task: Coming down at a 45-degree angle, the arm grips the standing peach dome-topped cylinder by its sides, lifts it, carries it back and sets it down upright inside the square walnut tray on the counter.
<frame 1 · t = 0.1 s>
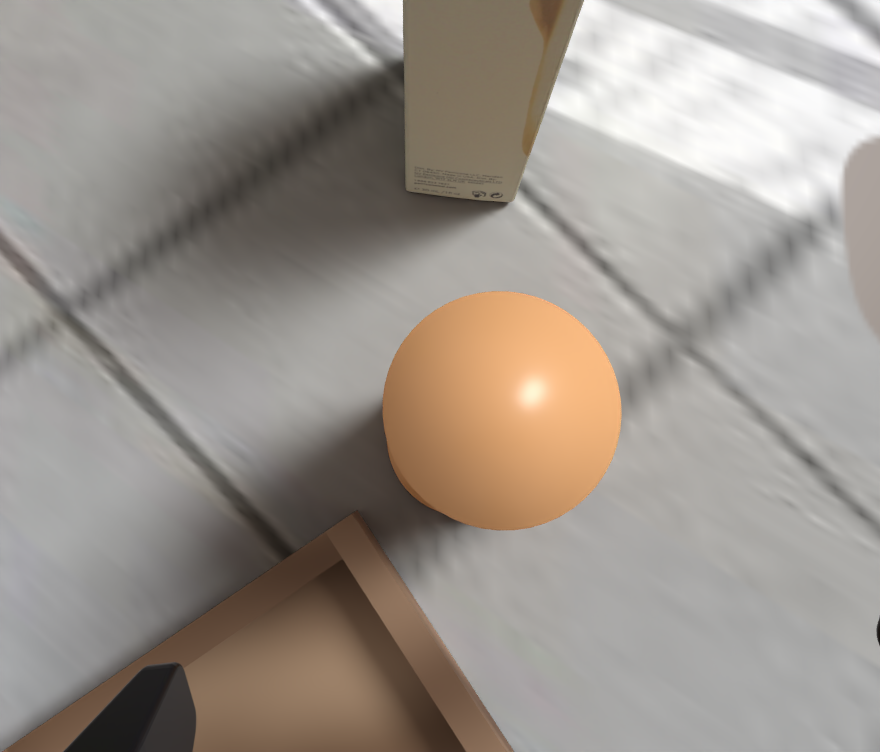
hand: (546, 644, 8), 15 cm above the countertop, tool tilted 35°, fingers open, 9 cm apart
skincare box: (465, 125, 26), on the countertop
peach dome-topped cylinder: (463, 438, 23), on the countertop
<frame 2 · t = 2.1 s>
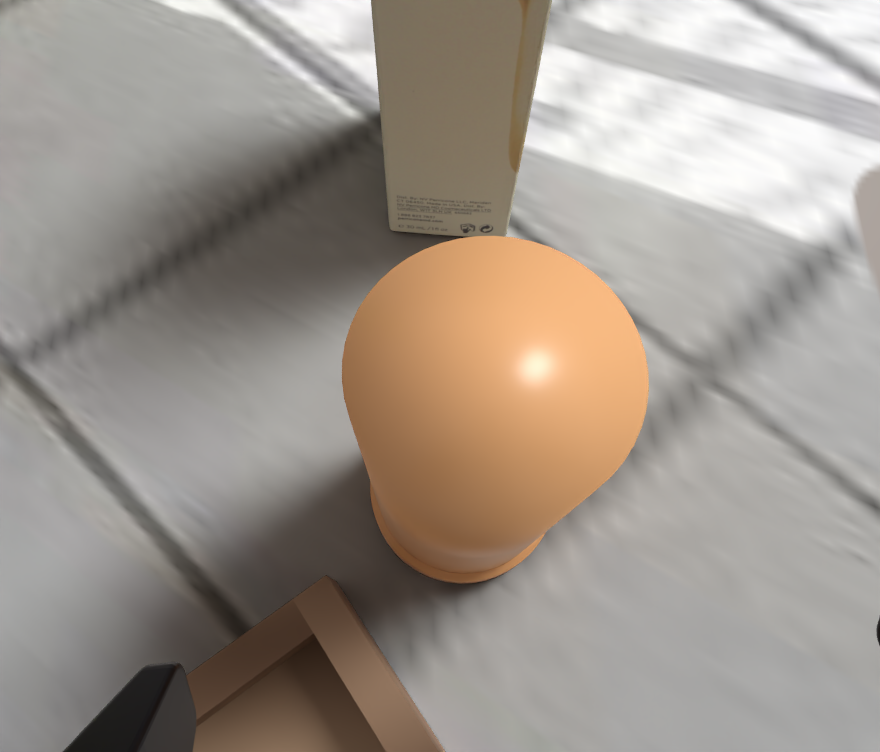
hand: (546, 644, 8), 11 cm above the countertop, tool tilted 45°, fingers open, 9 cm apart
skincare box: (451, 169, 25), on the countertop
peach dome-topped cylinder: (461, 491, 20), on the countertop
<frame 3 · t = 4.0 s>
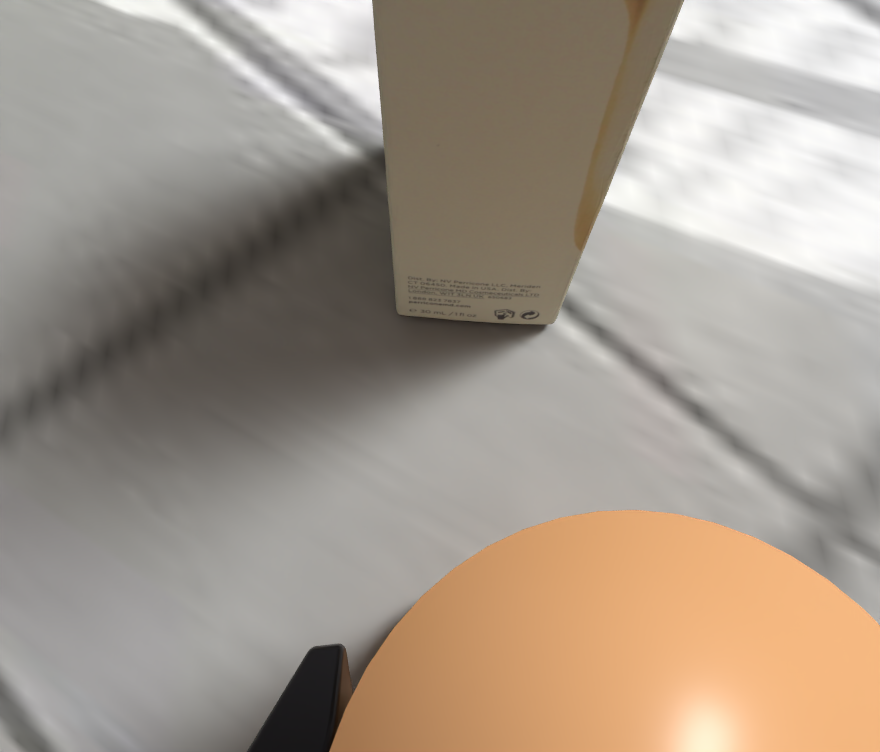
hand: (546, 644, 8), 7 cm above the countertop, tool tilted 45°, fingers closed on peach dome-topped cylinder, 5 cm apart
skincare box: (478, 226, 19), on the countertop
peach dome-topped cylinder: (501, 708, 14), on the countertop, touching gripper
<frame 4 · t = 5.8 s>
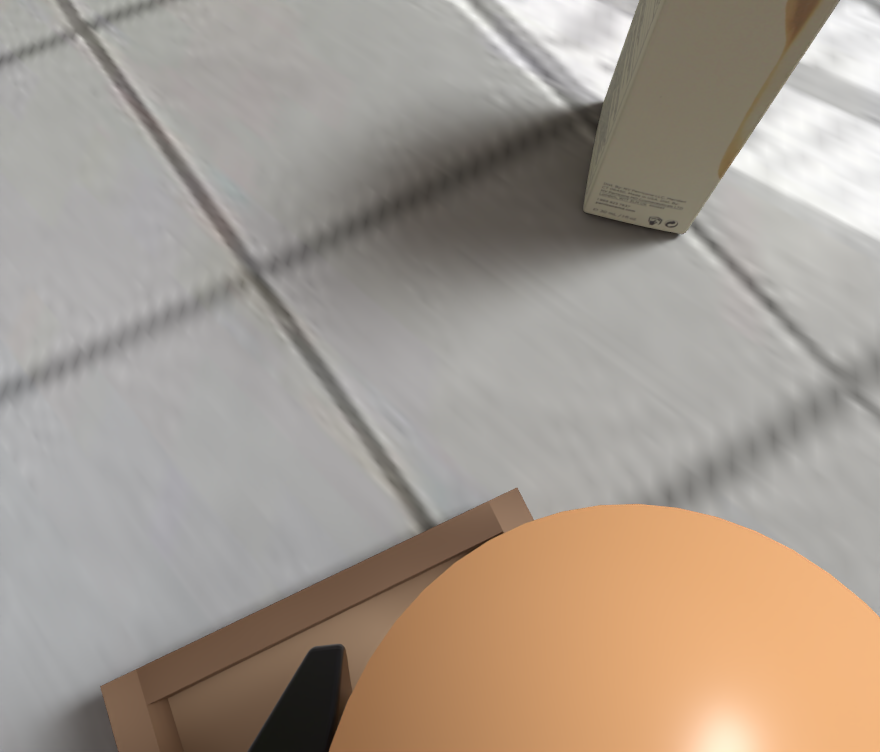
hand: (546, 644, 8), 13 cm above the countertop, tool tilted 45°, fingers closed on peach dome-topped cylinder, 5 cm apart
skincare box: (641, 166, 27), on the countertop
peach dome-topped cylinder: (502, 705, 14), point 7 cm above the countertop, touching gripper
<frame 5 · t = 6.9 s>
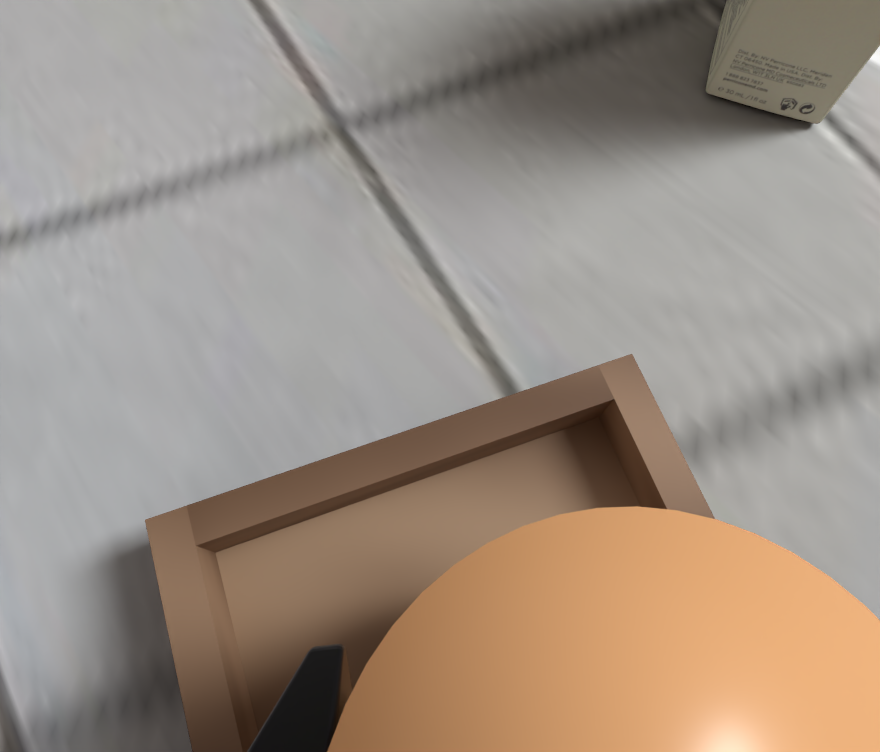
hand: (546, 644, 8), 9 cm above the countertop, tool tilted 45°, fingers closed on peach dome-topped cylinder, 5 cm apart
walnut tray: (487, 689, 17), on the countertop
skincare box: (769, 55, 25), on the countertop
peach dome-topped cylinder: (501, 707, 14), point 3 cm above the countertop, touching gripper
when the fingers open (9 cm above the countertop, at t = 7.5 s): peach dome-topped cylinder drops 1 cm, resting on walnut tray.
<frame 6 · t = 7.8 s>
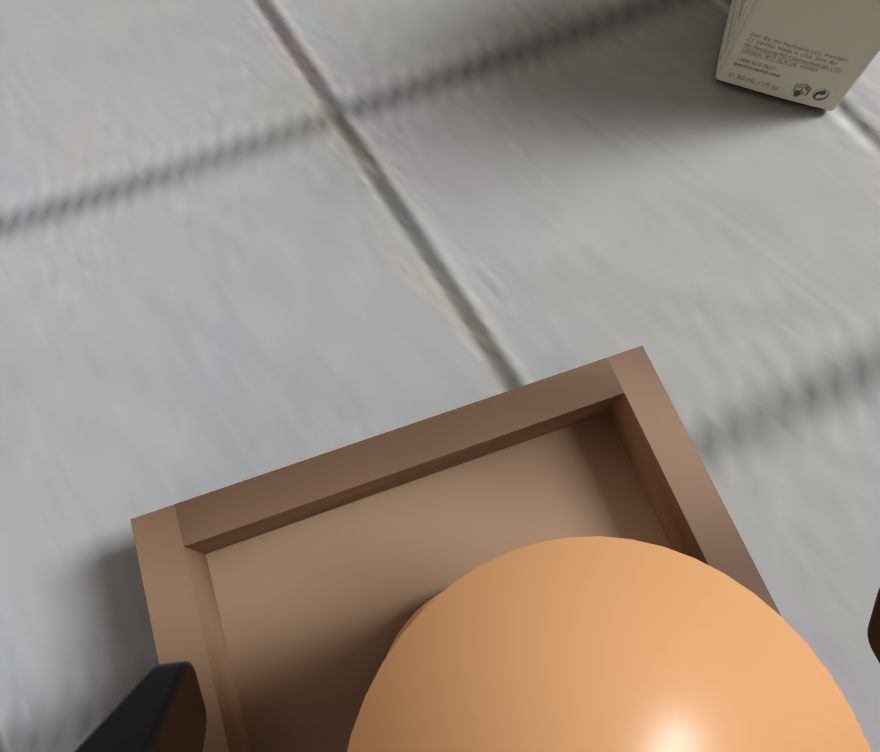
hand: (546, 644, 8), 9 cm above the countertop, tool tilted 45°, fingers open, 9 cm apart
walnut tray: (491, 698, 16), on the countertop
skincare box: (780, 41, 24), on the countertop
peach dome-topped cylinder: (494, 702, 15), point 1 cm above the countertop, touching walnut tray
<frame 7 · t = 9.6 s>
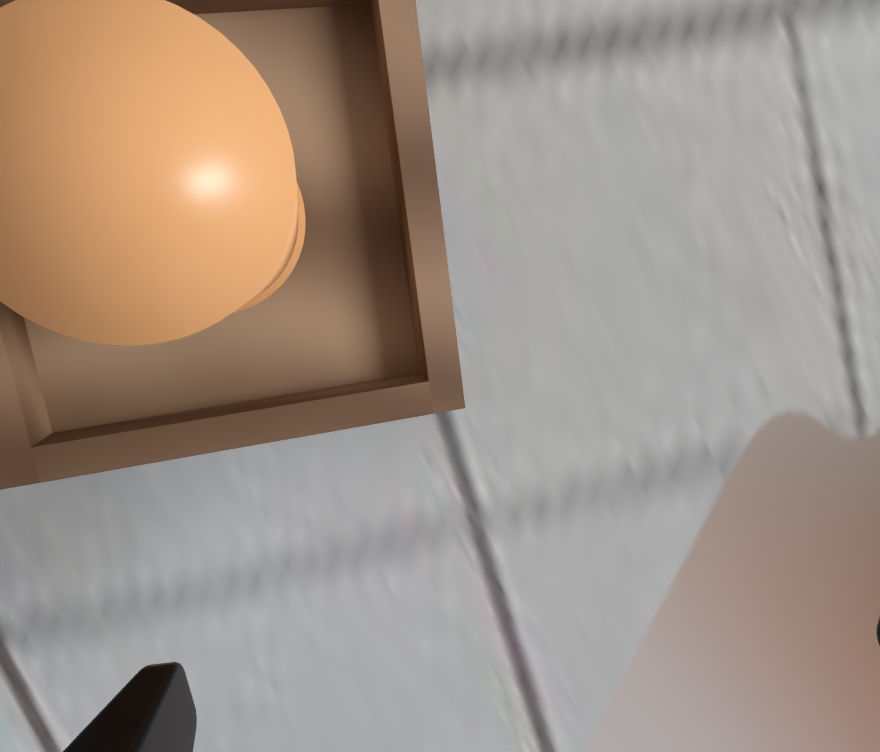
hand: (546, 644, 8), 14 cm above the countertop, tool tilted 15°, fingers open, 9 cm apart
walnut tray: (213, 220, 20), on the countertop
peach dome-topped cylinder: (210, 220, 19), point 1 cm above the countertop, touching walnut tray
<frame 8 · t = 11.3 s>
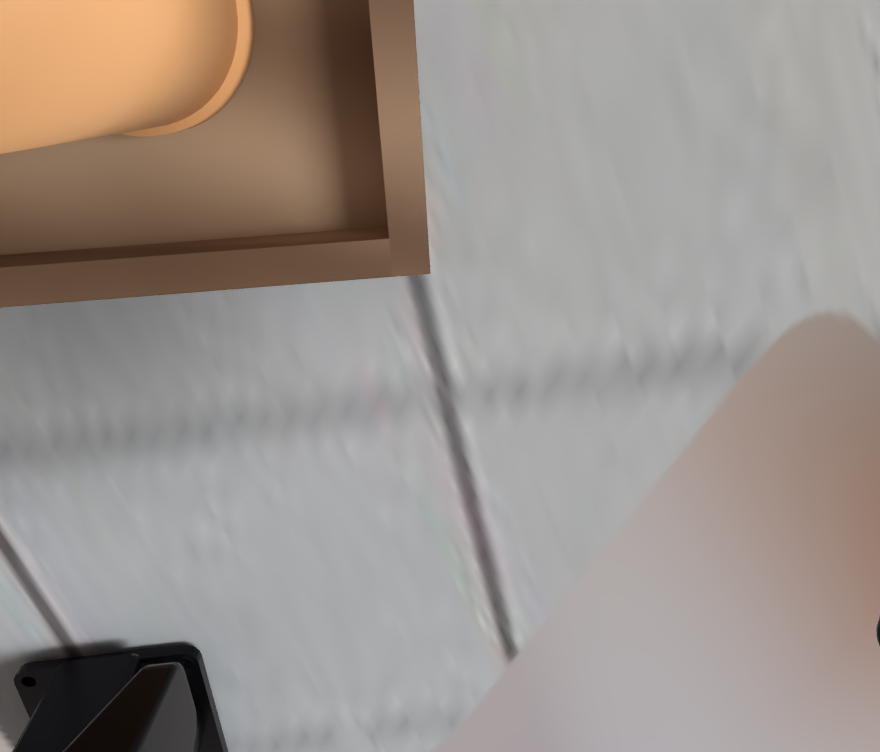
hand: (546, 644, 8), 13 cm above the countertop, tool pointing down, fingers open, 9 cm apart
walnut tray: (146, 15, 16), on the countertop
peach dome-topped cylinder: (138, 14, 16), point 1 cm above the countertop, touching walnut tray
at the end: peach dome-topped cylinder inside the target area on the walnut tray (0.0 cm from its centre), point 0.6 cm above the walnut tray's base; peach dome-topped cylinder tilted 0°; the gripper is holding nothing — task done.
